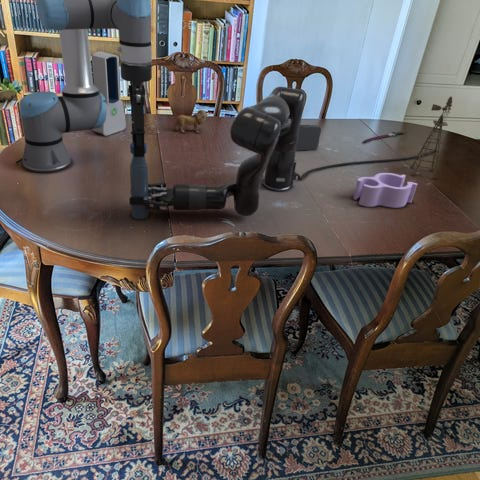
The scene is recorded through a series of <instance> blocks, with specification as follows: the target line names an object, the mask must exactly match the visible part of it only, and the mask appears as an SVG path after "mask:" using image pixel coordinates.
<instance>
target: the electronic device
mask: <svg viewBox="0 0 480 480" xmlns="http://www.w3.org/2000/svg"><path fill="white" fill-rule="evenodd" d="M91 59H92V61H91V64H92V77H93V84H94V85H95V86H96V87H97V88H98V91H99V93H101V94H102V95H103V96H104V98H105V103H106V106H107V116H106V120H105V123H104V125H103V126H102V127H100V128H96V129H92V131H94V133H96V134H99V135H102V136H105V137H107V136H110V135H112V134H113V135H114V134H117V133H119V132H121V131H124V130H125V129H126V127H127V123H126V114H125V107H124V102H123V101H122V100H121V91H120V70H119V69H120V68H119V56H118V55H115V54H112V53H109V52H104V51H96V52H94V53H93V54H91Z"/></svg>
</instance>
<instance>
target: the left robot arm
mask: <svg viewBox="0 0 480 480" xmlns="http://www.w3.org/2000/svg"><path fill="white" fill-rule="evenodd" d="M33 2H34V3H35V4H36V13H37V17H38V19H39V21H40V25H41V26H42V27H43V28H45V29H46V30H57V31H58V33H59V34H58V35H59V43H60V51H61V57H62V65H63V66H62V67H63V73H64V80H65V85H64V86H63V87H62V89H61V95H60V96H59V95H58V94H57V93H56V92H54V91H45V90H44V91H43V90H42V91H36V92H32V93H28V94H26V95H24V96H23V97H22V98H21V99H20V100H19V103H18V104H19V116H20V119H21V125H22V132H23V136H24V148H23V153H22V158H21V157H20V159H18V160H16V161H15V164H16V165H17V164H19V163H22V166H23V168H24V169H25V170H27V171H29V172H33V173H39V174H46V173H56V172H61V171H63V170H66V169H67V168H69V167H70V166H71V163H72V159H71V155H70V153H69V151H68V150H67V149H68V148H67V147H66V145H65V143H64V140H63V134H64V133H74V132H82V131H93V129H96V128H100V127H102V126H103V125H104V123H105V120H106V116H107V106H106V103H105V98H104V96H103V95H102V94H101V93H99V91H98V88H97V87H96V86H95V85H94V78H93V68H92V61H91V59H92V58H91V51H90V42H89V32H88V30H118V43H119V47H118V46H117V47H116V51H117V52H119V59H120V61H121V62H120V64H119V66H120V68H119V69H120V78H121V79H122V80H123V81H126V82H129V84H128V85H127V86H128V87H127V88H128V95H129V101H130V107H131V108H130V109H131V110H130V111H131V112H130V113H131V114H130V117H131V132H130V135H131V139H132V140H131V141H132V142H131V143H133V142H134V157H145V158H146V153H145V148H144V143H145V134H146V130H145V106H146V102H145V101H146V99H145V95H146V87H145V85H143V83H148V82H150V81H151V80H152V78H153V68H152V67H153V66H152V64H151V63H152V61H153V45H152V13H153V11H152V5H151V2H152V1H151V0H33Z"/></svg>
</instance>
